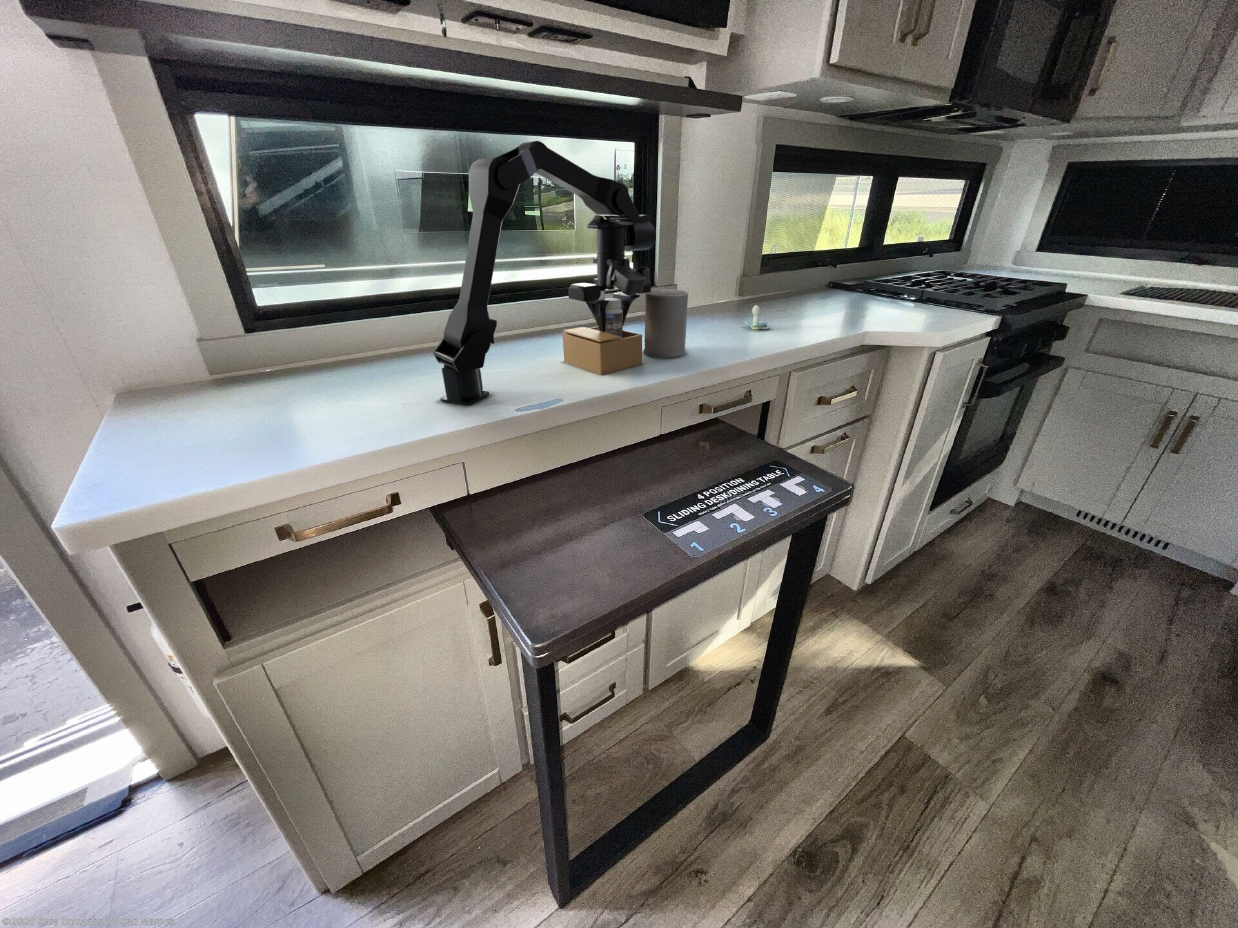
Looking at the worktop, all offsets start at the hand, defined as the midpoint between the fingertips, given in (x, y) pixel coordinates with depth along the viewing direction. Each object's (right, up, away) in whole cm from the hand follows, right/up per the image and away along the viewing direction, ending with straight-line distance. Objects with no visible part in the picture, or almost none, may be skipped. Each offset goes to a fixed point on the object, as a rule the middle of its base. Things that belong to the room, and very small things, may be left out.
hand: (611, 329), depth 111 cm
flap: (-4, -2, -3) cm, 6 cm away
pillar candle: (+12, -3, +9) cm, 16 cm away
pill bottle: (0, -2, +1) cm, 2 cm away
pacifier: (+41, +8, +31) cm, 52 cm away
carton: (-2, -7, +2) cm, 7 cm away
